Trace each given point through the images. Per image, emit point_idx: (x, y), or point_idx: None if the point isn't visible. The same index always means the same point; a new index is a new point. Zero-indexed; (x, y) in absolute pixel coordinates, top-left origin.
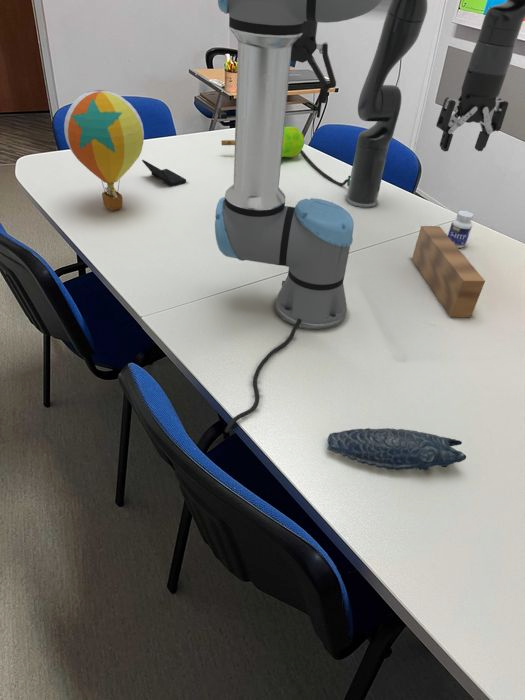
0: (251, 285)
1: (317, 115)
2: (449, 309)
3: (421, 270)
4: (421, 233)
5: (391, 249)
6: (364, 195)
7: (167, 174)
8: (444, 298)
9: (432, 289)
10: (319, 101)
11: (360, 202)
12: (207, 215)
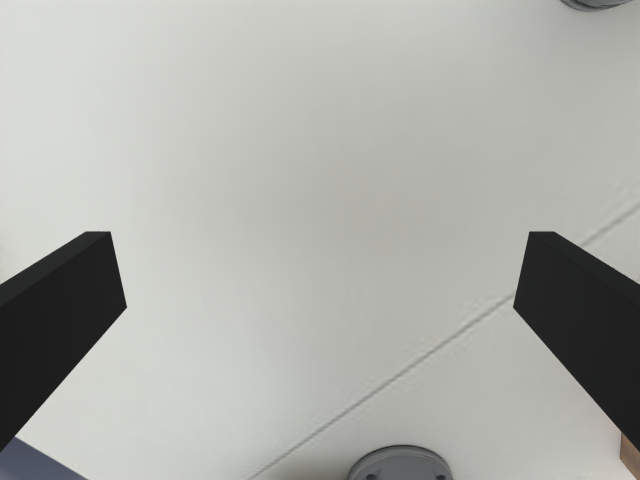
0: (301, 448)
1: (525, 315)
2: (626, 459)
3: None
4: None
5: None
6: (623, 1)
7: None
8: (631, 446)
9: None
10: (595, 393)
11: (593, 7)
12: (128, 219)
